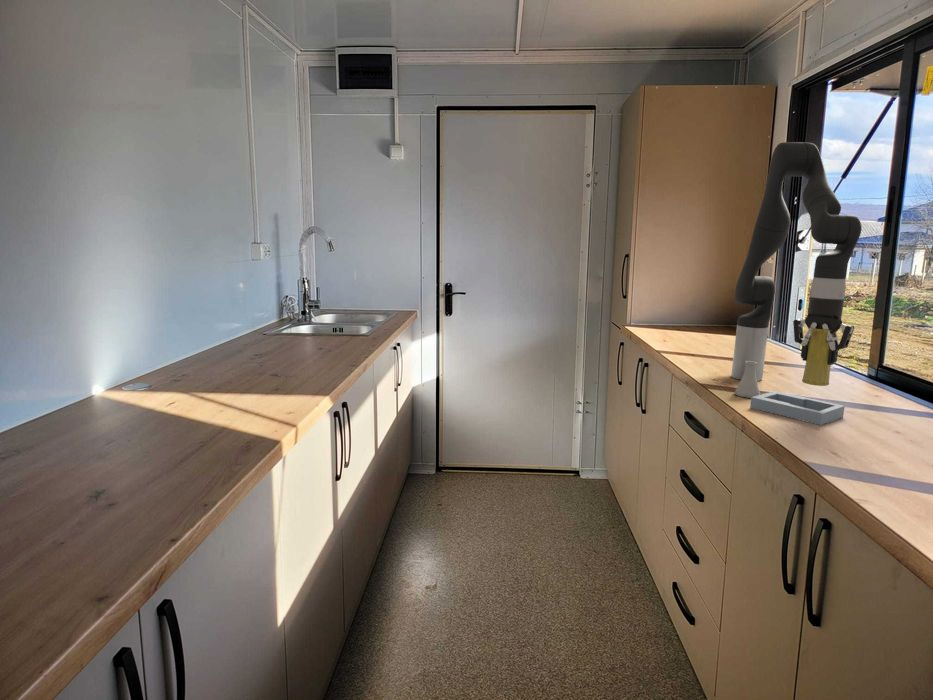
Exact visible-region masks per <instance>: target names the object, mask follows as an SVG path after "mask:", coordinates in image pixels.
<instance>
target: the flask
mask: <svg viewBox="0 0 933 700" xmlns="http://www.w3.org/2000/svg"><path fill="white" fill-rule="evenodd" d="M745 364H746V368H745V372H744V375H743V377H742V379H741V380H740V381H739V384H738V386H737V387H736V389H735V391H734V395H736V396H738V397H741V398H749V399H751V397H754V396H758V395H761V392H760V388H759V384H758V381H757V379H756V373H755V367H756V365H757V362H753V361H745Z"/></svg>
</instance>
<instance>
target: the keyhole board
mask: <svg viewBox="0 0 933 700" xmlns="http://www.w3.org/2000/svg"><path fill="white" fill-rule="evenodd" d="M750 409H753V410H757V411H760V412H761V411H762V412H765V411H766V413H769V412H770V414H773V413H775V414H774V415H777V414H780V415H779V416H781V415H784V416H783V417H785V416H788V417H787V418H789V417H791V418H790V419H793V418H796V419H795V420H797V419H800V420H799V421H801V420H804V421H803V422H805V421H808V422H807V423H809V422H812V423H811V424H813V423H816V424H815V425H818V424H820V425H819V426H822V424H823V425H826V424H828V423H831V422H833V421H834V422H835V421H836V420H839V419H841V418H844V415H845V414H844V413H845V405H842V404H838V403H834V402H828V401H823V400H820V399H814V398H809V397H806V396H800V395H795V394H791V393H786V392H782V391H779V390H772V391H770V392H765V393H762V394H761V393H760V395H758V396H754V397H751V398H750ZM825 423H826V424H825Z"/></svg>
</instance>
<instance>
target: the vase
mask: <svg viewBox="0 0 933 700" xmlns="http://www.w3.org/2000/svg"><path fill="white" fill-rule="evenodd" d="M830 331H831V330H830ZM827 334H828V330H824V329H816V328H812V333H811V337H810V339H809V345H808V352H807V359H806V361H805V366H804V371H803V375H802V379H801V382H802V383H803V384H807V385H811V386H820V387H825V386H829V385H830V375H831V374H830V373H831V366H832V365H828V364H827V363H828V356H829V350H831V349H830V346H829V343H828V341H827ZM831 335H832V334H831ZM832 337H834V334H833V335H832Z"/></svg>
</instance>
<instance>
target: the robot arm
mask: <svg viewBox="0 0 933 700" xmlns="http://www.w3.org/2000/svg"><path fill="white" fill-rule="evenodd" d="M823 162H824V161H823V159H822V156H821V153H820V150H819V149H818V146H817V145H816V144H815V143H812V142H806V141H803V142H802V141H800V142H799V141H796V142H795V141H792V142H790V141H788V142H787V141H784V142H780V143H779V144H777V145H776V147H774V149H773V152H772V155H771V158H770V162H769V167H768V168H769V169H768V173H767V178H766V179H767V180H766V184H765V190H764V193H763V198H762V201H761V204H760V208H759V211H758V215H757V218H756V221H755V224H754V228H753V232H752V235H751V241H750V244H749V247H748V251H747V255H746V257H745V261H744V264H743V266H742V268H741V272H740V274H739V276H738V279H737V283H736V285H735V291H734V299H735V301H736V302H737V304H740V305H746V306H748V305H749V306H756V307H755V309H753V310H752V311H750V312H747V313H744V314H741V315H739V316H738V318H737V320H736V331H735V340H734V349H733V358H732V367H731V374H730V375H731V376H730V377H731V378H733V379H737V380H740V381H741V379H742V377H743V375H744V372H745V368H746V364H745V361H753V362H757V365H756V367H755V373H756V379H757V382H760V381H762V380H763V376H764V369H765V359H766V352H767V351H766V350H767V343H768V342H767V341H768V333H769V326H770V321H771V317H772V309H773V304H774V301H775V300H774V299H775V292H776V283H775V280H774V278H772V276H763V275H757V273H759V270H760V268H761V267H762V266H763V265H764V263H766V261H768V259H770V258H771V257H772V256H774V254H776V253H777V251H778V250H780V249H781V248H782V246H783V245H784V244H785V242H786V239H787V236H788V232H789V229H790V225H791V214H790V212H789V209H788V206H787V204H786V202H785V199H784V197H783V185H784V184H783V183H784V181H785V179H786V178H787V177H790V178H791V177H793V178H795V177H799V178H801V177H804V178H806V179H807V180H808V181H807V182H806V185H805V187H804V188H803V191H802V203H803V205H804V207H805V210H806V211H807V214H808V215H809V218H810V233H811V237H812V239H813V240H814V241H816V243H820V244H825V245H828V244H829V245H830V244H831V245H836V247H835V248H834V249H833V250H832V251H831V252H828V253H822V254H819V255H817V257H816V259H815V264H814V269H813V278H812V282H811V284H810V285H811V286H810V291H809V300H808V306H807V316H806V318H805V319H799V318H798V319H794V320H793V321H792V322H793V323H792V325H793V339H794V342H795V343H798V344H799V345H801V352H800V358H801V359H802V361H805V362H806V359H807V352H808V345H809V339H810V337H811V333H812V328H816V329H824V330H828V334H827V341H828V343H829V346H830V349H831V350H829V356H828V363H827V364H828V365H831V366H833V365H834V364H835V363H837V361H838V354H839V351H840V350H844V349H848V346H849V344H850V342H851V339H852V336H853V334H854V332H855V326H854V325H853V324H851V325H848V324H844V323H843V320H842V315H843V310H844V309H843V308H844V302H845V296H846V295H845V294H846V288H847V287H846V285H847V284H846V281H847V280H846V279H847V275H848V274H847V273H848V267H849V266H848V265H849V262H850V259H851V256H852V255H853V252H854V249H855V247H856V246H857V244H858V241H859V239H860V237H861V233H862V227H863V226H862V223H861V220H860V219H859V218H858V217H857V216H856V215H852V214H851V215H850V214H841V210H842V205H841V203H840V201H839V199H838V197H837V196H836V194H835V192H834V191H833V189H832V188H831V186H830V183H829V180H828V178H827V173H826V170H825V166H824V163H823ZM805 326H806V327H807V329H808V330H807V332H806V334H805V335H804V327H805ZM840 329H841V333H842V335H841V338H840V341H838V340H839V338H838V334H837V332H838V331H839V330H840ZM830 330H831V331H830ZM831 334H832V335H833V334H834V337H832V335H831Z"/></svg>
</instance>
